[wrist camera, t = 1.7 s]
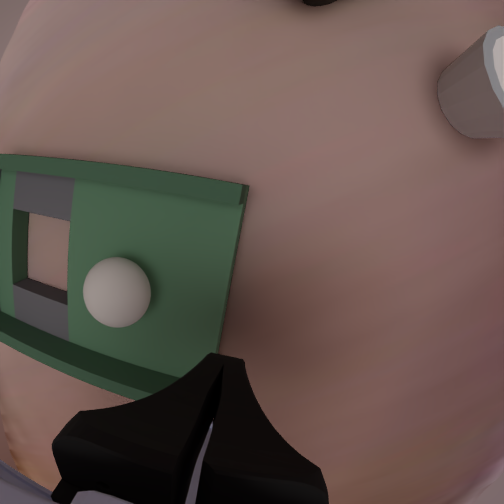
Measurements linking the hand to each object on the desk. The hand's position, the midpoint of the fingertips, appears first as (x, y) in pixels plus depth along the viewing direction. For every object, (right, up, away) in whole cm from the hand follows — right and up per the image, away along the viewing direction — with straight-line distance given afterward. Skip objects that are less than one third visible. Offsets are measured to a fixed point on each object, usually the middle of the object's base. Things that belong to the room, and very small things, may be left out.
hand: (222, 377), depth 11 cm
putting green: (-10, +5, +9) cm, 14 cm away
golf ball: (-7, +2, +5) cm, 9 cm away
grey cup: (+17, +16, +6) cm, 23 cm away
